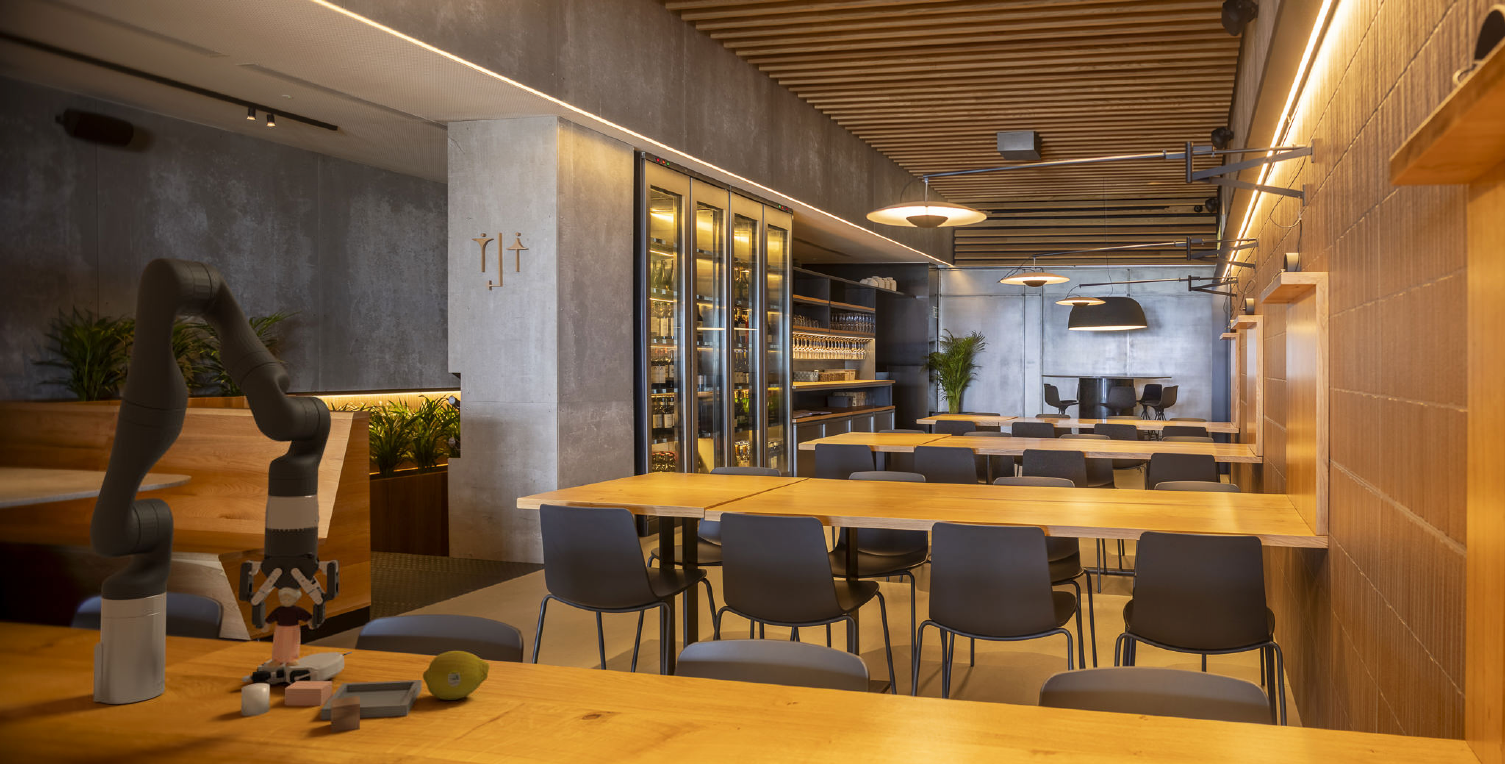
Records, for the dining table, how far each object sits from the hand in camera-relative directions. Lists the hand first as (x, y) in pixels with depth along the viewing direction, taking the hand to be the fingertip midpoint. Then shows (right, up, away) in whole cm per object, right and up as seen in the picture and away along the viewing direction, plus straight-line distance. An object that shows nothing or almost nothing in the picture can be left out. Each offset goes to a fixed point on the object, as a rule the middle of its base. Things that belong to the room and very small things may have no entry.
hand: (288, 627), depth 143 cm
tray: (+9, -15, +10) cm, 20 cm away
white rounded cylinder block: (-8, -15, +5) cm, 18 cm away
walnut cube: (+9, -15, -1) cm, 18 cm away
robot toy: (-9, -16, +21) cm, 27 cm away
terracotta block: (-2, -16, +11) cm, 19 cm away
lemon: (+22, -16, +13) cm, 30 cm away
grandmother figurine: (0, -6, 0) cm, 6 cm away
